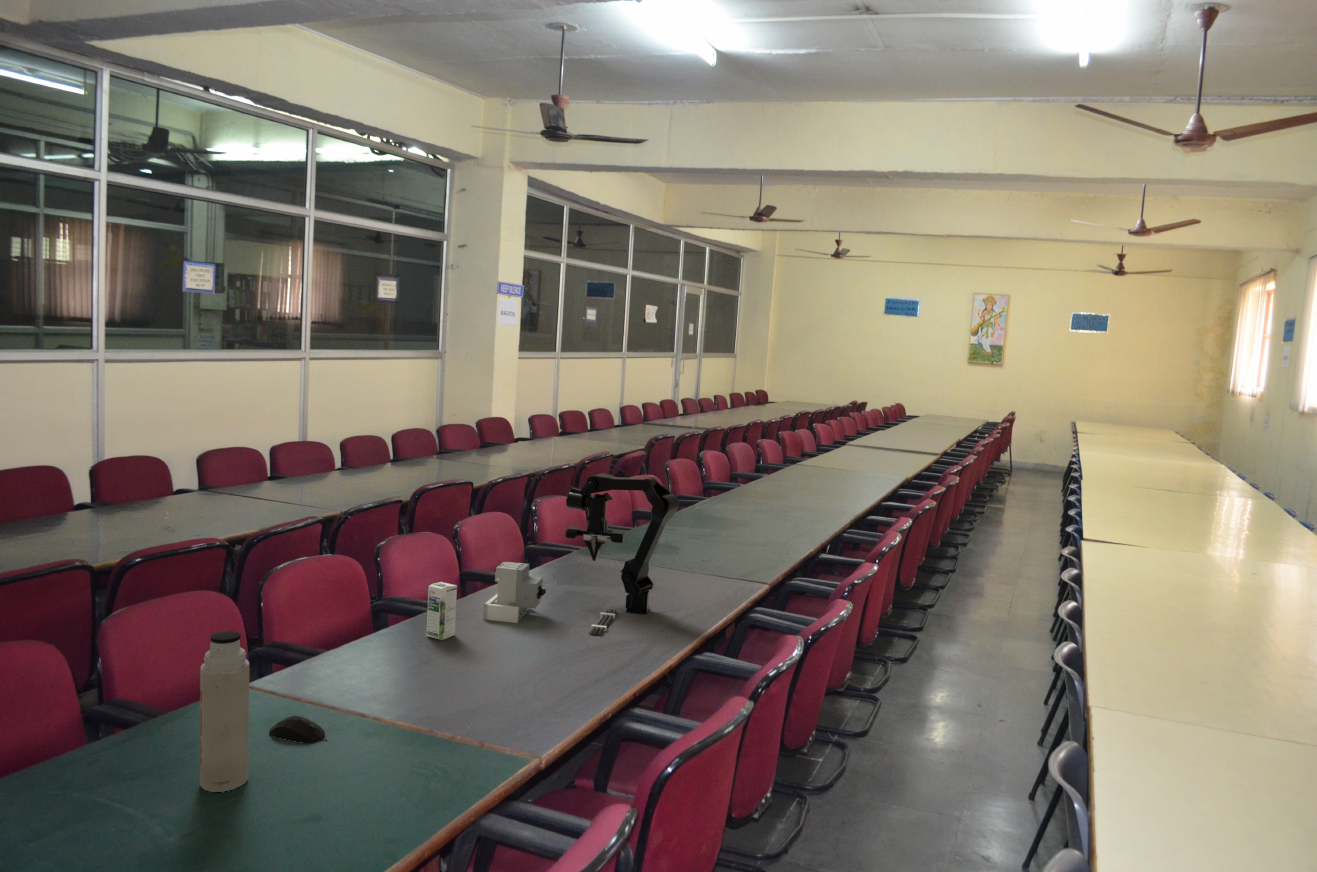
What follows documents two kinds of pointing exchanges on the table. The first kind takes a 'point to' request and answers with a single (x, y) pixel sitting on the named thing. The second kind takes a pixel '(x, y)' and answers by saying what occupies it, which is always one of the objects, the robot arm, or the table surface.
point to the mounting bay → (500, 611)
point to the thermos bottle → (224, 714)
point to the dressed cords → (602, 626)
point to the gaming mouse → (298, 730)
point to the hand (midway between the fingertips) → (594, 560)
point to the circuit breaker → (518, 587)
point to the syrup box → (441, 610)
